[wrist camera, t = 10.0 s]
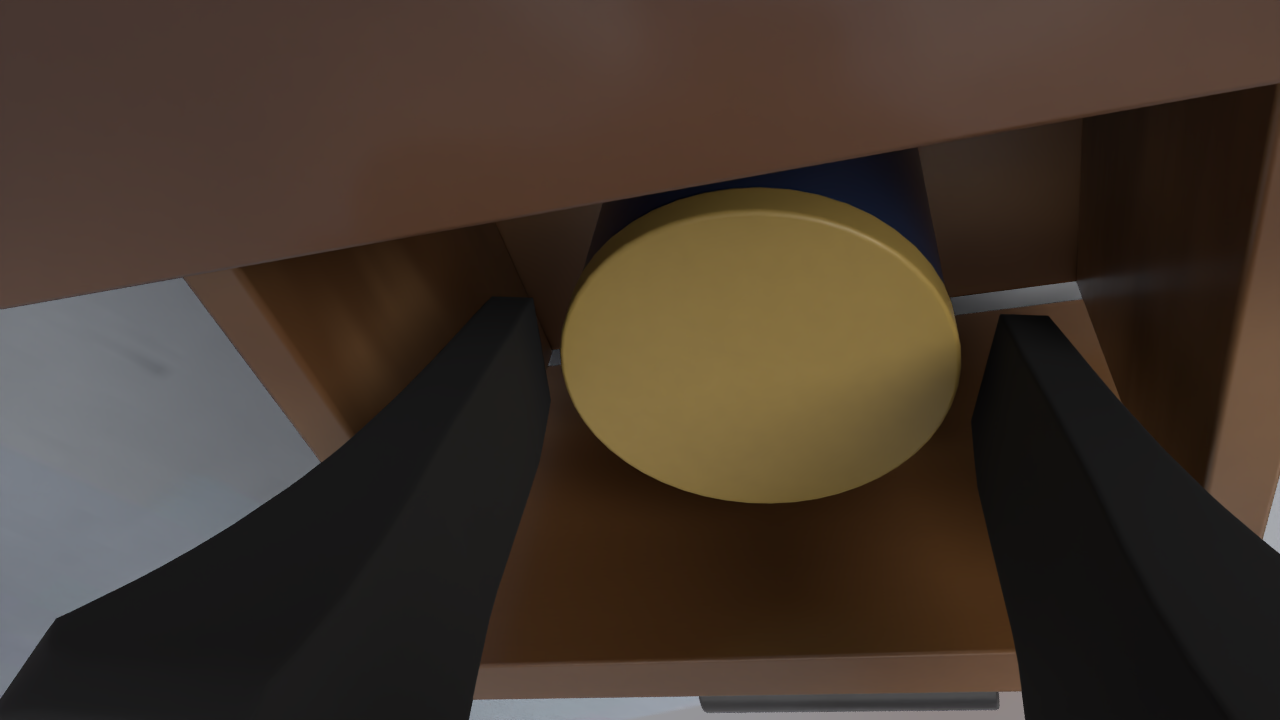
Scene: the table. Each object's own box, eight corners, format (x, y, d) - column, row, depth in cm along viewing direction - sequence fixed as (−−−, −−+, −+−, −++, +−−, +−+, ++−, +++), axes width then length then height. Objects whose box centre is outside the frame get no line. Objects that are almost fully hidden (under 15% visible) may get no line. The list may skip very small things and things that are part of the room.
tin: (900, 313, 18) (927, 516, 14) (623, 303, 18) (579, 493, 15) (948, 37, 14) (1002, 216, 10) (599, 38, 15) (533, 206, 11)
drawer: (1124, 476, 21) (1242, 819, 16) (595, 516, 25) (535, 804, 19) (1240, -692, 10) (1905, -1031, 4) (203, -290, 13) (-247, -155, 8)
